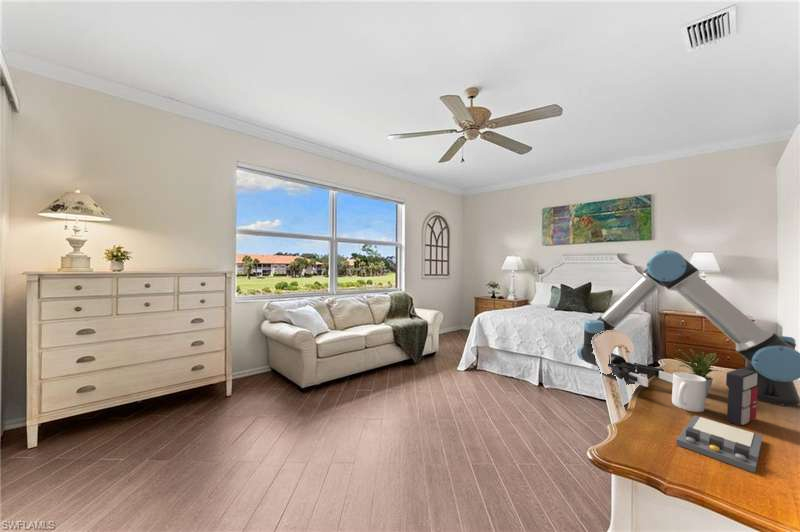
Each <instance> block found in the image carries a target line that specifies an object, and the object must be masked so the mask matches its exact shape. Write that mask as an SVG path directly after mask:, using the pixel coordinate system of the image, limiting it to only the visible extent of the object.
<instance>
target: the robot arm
mask: <svg viewBox="0 0 800 532" xmlns="http://www.w3.org/2000/svg"><path fill="white" fill-rule="evenodd" d="M660 288H666V289H667V290H668V291H674V292H677V293H678V294H679V295H680V296H681V297H683V298H684V299H685V300H686V301H687V302H688V303H689V304H691V306H693V307H694V309H696V310H697V311H698V312H700V314H702V315H703V316H704V317H705V318H706V319H708V321H709V322H711V323H712V324H713V325H714V326H715V327H716V328H718V329H719V330H720V331H721V332H722V333H723V334H724V335H725V336H727V337H728V338H729V339H730V340H731V341H732V342H733V343H735V351H736V352H737V353H738V354H739V355H740V356H741V357H742V358H744V359H745V361H744V362H745V364H744V365H745V366H744V369H747V370H752V371H756V372H757V374H758V376H757V385H756V387H758V392H757V401H761V402H765V403H769V402H770V403H769V404H774V403H776V404H775V405H779V404H784V405H783V406H787V405H797V406H799V405H800V404H799V403H800V396H799V394H798V390H797V387H796V384H795V383H794V381H797V380H798V379H800V352H799V351H797V350H796V347H797V343H796V339H795V338H793V337H792V336H784V335H777V334H776V333H775V332H774V331H771V330H764V329H763V328H761V327H760V326H759V325H758V324H756V323H755V322H754V321H753V320H751V319H750V318H749V317H748V316H747V315H746V314H745V313H743V312H742V311H741V310H740V309H738V308H737V307H736V306H735V305H734V304H732V302H730V301H729V300H728V299H727V298H725V297H724V296H723V295H722V294H721V293H719V292H718V291H717V290H716V289H715V288H714V287H712V286H711V285H710V284H709V283H707V281H705V280H704V279H703V278H701V277H700V270H699V269H698V268H697V267H695V266H694V265H693V264H692V263H691V262H689V260H687V259H686V258H685V257H684V256H683V255H682V254H681V253H679V252H677V251H675V250H671V249H670V250H669V249H664V250H660V251H656V252H654V253H653V254H652V255H651V256H650V257H649V258H648V260H647V261H646V268H645V270H643V271H642V276H641V277H640V278H639V279H637V281H636V282H635V283H634V284H633V285H631V287H630V288H629V289H628V290H626V291H625V292H624V293H623V294H622V295H621V296H620V297H619V298H618V299H617V300H616V301H615V302H614V303H613V304H612V305H611V306H610V307H609V308H608V309H607V310H606V311H604V312H603V313H602V314H601V315H600V316H599V317H598V318H597V319H586V320H584V326H583V343H582V344H580V345H579V347H578V349H577V354H576V355H577V356H578V358H579V359H580V360H581V361H584V362H586V363H588V364H591V365H593V366H596V367H598V364H597V361H596V358H595V355H594V352H593V348H592V344H591V340H592V337H593V336H594V335H595V334H597V333H600V332H601V331H606V330H612V331H614V329H616V327H618V326H619V325H620V324H621V323H622V322H624V320H625V319H626V318H627V317H630V315H631V314H632V313H633V312H634V311H636V310H637V309H638V308H639V307H640V306H641V305H642V304H643V303H644V302H646V300H647V299H648V298H650V297H651V296H652V295H653V294H654V293H655V292H656V291H658V289H660ZM602 333H603V332H602ZM600 334H601V333H600ZM610 353H611V364H610V355H609V364H608V367H609V368H611V370H612V372H611V373H612V374H614V376H615V377H616V378H618V379H620V380H624V382H629V381H631V382H634V383H635V384H638V385H640V386H642V387H645V388H646V387H647V388H648V387H649V379H648V378H646V377H644V376H642V375H647V376H652V377H656V378H659V379H661V380H663V381H666V382H669V383H671V384H673V373H672V374H671V373H669V372H666V371H665V370H664V369H663V368H662V367H655V366H650V365H646V364H640V363H638V362H633V363H631V362H628V361H626V359H625V358H624V357H623V356H622V355H619V354H616V353H613V352H610ZM639 374H642V375H639ZM798 404H799V405H798Z"/></svg>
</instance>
